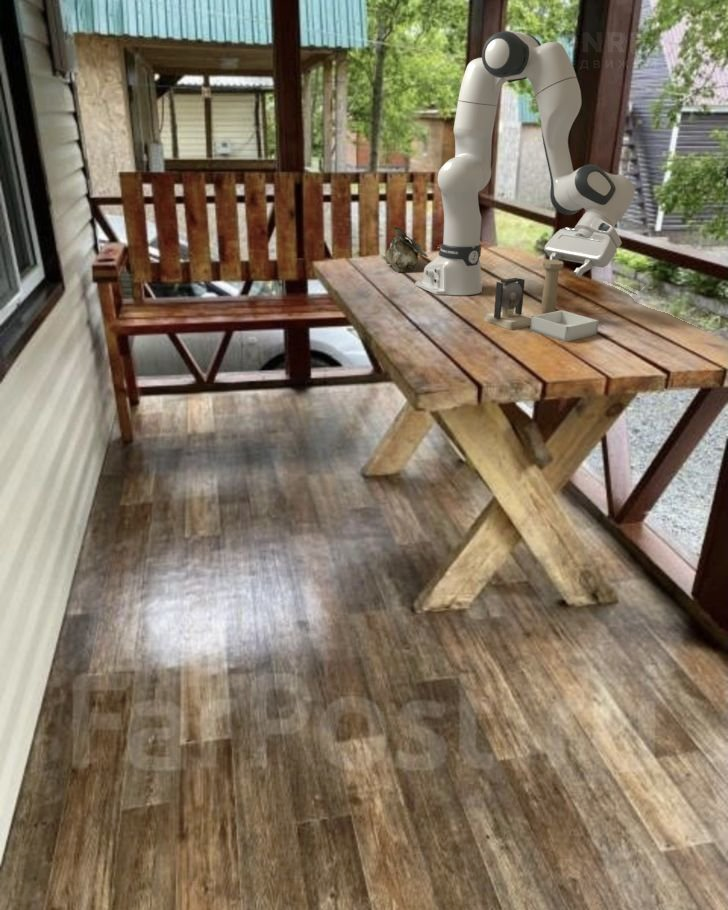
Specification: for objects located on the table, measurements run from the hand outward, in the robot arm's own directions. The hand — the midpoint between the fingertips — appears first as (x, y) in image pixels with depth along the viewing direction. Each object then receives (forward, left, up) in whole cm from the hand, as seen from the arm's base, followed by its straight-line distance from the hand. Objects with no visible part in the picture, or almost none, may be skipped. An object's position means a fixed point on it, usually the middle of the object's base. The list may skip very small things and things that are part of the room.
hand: (562, 272), depth 197 cm
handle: (0, -4, -12) cm, 13 cm away
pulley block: (-2, -17, -12) cm, 21 cm away
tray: (+12, -11, -12) cm, 20 cm away
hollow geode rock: (-79, +7, -12) cm, 80 cm away
